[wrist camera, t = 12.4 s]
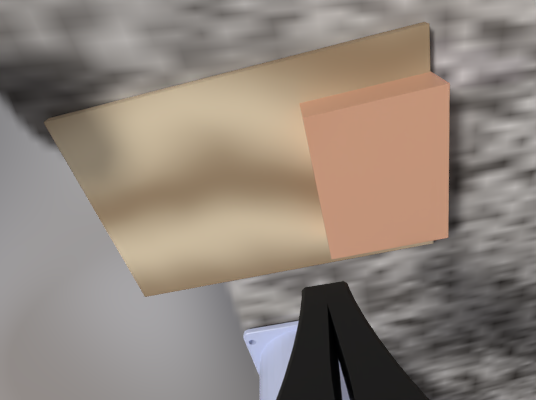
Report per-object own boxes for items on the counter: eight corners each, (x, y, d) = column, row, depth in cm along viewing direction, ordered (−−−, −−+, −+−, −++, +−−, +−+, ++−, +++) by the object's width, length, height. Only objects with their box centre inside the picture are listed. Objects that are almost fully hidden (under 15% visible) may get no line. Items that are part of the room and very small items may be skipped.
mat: (429, 236, 22) (433, 243, 22) (147, 290, 25) (145, 296, 24) (424, 22, 16) (429, 23, 16) (49, 118, 19) (43, 122, 18)
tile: (326, 236, 22) (433, 215, 21) (331, 259, 20) (448, 237, 19) (299, 103, 18) (431, 71, 17) (302, 117, 16) (449, 83, 15)
